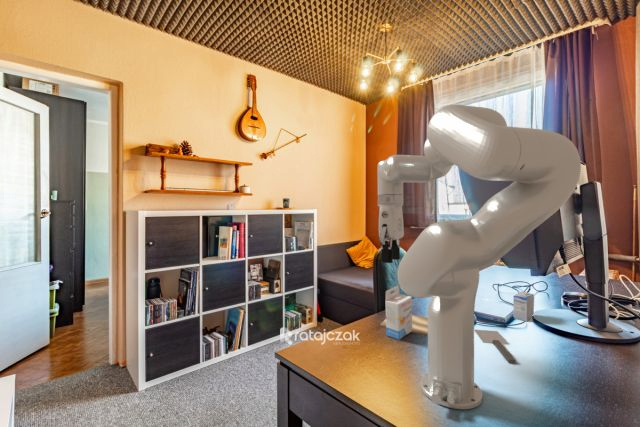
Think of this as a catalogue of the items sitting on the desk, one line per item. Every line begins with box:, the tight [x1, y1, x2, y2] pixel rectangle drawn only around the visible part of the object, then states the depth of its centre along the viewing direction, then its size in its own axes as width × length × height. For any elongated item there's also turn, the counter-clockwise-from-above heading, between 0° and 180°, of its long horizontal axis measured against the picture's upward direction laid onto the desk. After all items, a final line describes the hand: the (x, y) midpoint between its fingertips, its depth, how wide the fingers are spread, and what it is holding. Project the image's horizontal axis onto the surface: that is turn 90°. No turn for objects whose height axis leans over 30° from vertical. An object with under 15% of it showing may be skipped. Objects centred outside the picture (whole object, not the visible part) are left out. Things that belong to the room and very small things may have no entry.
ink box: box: [385, 284, 413, 341], centre depth 96 cm, size 8×5×15 cm, turn 134°
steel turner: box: [474, 329, 517, 365], centre depth 88 cm, size 21×7×1 cm, turn 168°
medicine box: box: [512, 291, 535, 322], centre depth 110 cm, size 8×4×9 cm, turn 130°
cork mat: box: [379, 314, 428, 337], centre depth 106 cm, size 15×16×1 cm
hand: (390, 260), depth 90 cm, fingers open, 5 cm apart
